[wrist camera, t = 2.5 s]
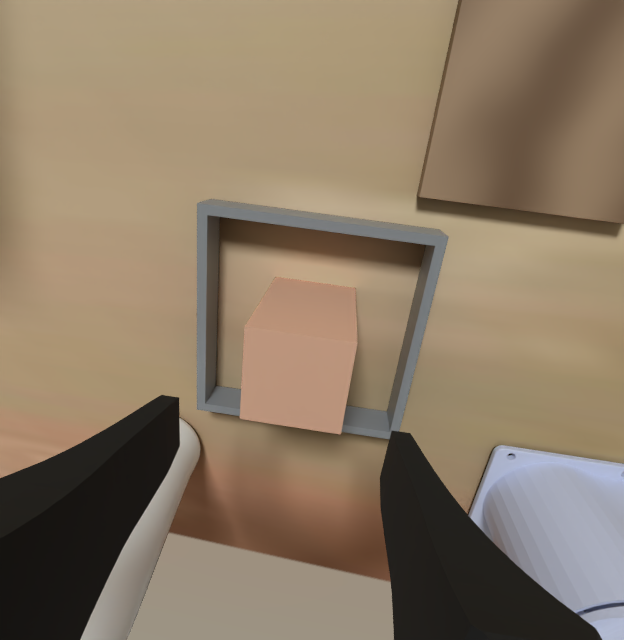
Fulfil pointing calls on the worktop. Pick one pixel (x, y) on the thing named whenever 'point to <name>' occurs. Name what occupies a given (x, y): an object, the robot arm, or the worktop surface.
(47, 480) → the robot arm
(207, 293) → the square frame
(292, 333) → the block
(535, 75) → the board
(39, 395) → the worktop surface
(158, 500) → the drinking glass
